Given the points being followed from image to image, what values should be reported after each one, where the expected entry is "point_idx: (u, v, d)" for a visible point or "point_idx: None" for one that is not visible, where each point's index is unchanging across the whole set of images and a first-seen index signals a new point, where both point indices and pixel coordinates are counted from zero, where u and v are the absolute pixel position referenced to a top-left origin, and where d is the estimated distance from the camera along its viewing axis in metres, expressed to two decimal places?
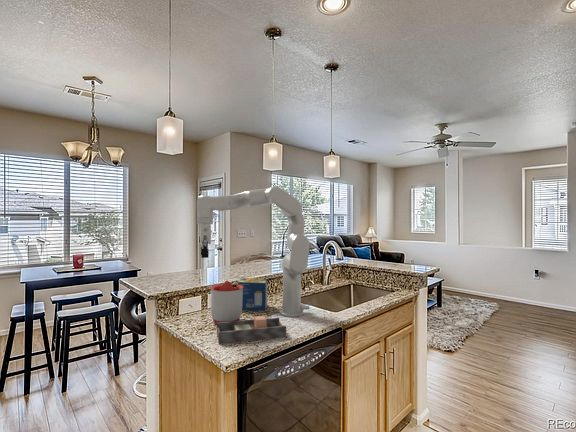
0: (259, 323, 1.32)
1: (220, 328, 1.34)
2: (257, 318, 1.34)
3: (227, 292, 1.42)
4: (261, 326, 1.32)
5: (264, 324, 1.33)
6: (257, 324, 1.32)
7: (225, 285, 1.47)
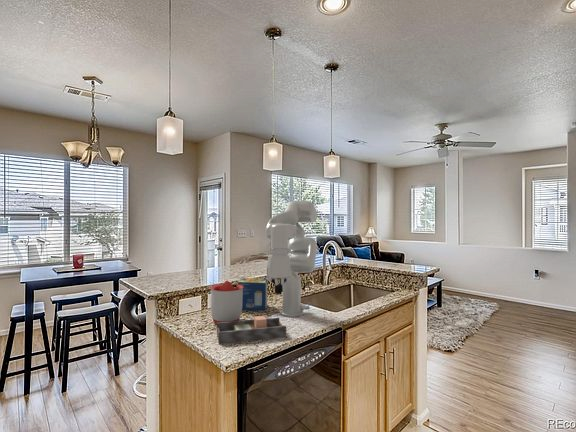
0: (259, 323, 1.32)
1: (220, 328, 1.34)
2: (257, 318, 1.34)
3: (227, 292, 1.42)
4: (261, 326, 1.32)
5: (264, 324, 1.33)
6: (257, 324, 1.32)
7: (225, 285, 1.47)
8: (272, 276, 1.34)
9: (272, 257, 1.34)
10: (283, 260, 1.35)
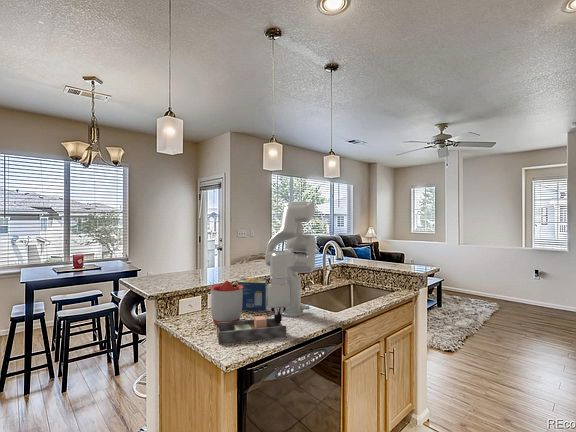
0: (259, 323, 1.32)
1: (220, 328, 1.34)
2: (257, 318, 1.34)
3: (227, 292, 1.42)
4: (261, 326, 1.32)
5: (264, 324, 1.33)
6: (257, 324, 1.32)
7: (225, 285, 1.47)
8: (271, 305, 1.34)
9: (271, 286, 1.34)
10: (282, 289, 1.35)
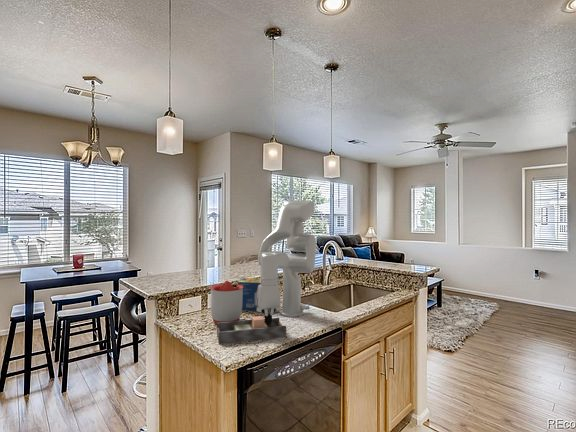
0: (257, 323, 1.32)
1: (220, 328, 1.34)
2: (255, 318, 1.33)
3: (227, 292, 1.42)
4: (259, 326, 1.32)
5: (262, 324, 1.32)
6: (255, 324, 1.32)
7: (225, 285, 1.47)
8: (262, 307, 1.32)
9: (261, 287, 1.33)
10: (273, 290, 1.34)
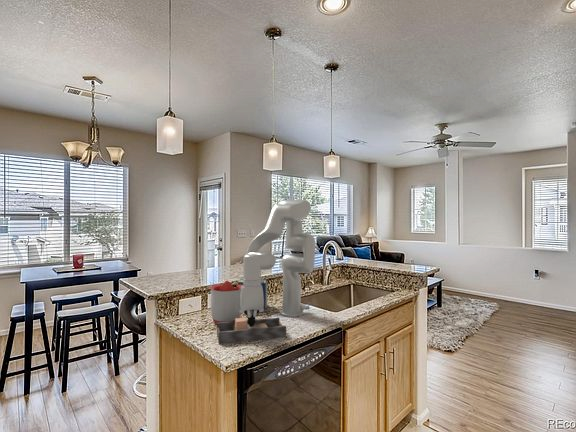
0: (239, 325, 1.30)
1: (220, 328, 1.34)
2: (238, 320, 1.31)
3: (227, 292, 1.42)
4: (242, 328, 1.30)
5: (245, 325, 1.30)
6: (237, 326, 1.29)
7: (225, 285, 1.47)
8: (244, 308, 1.30)
9: (244, 289, 1.30)
10: (256, 291, 1.31)
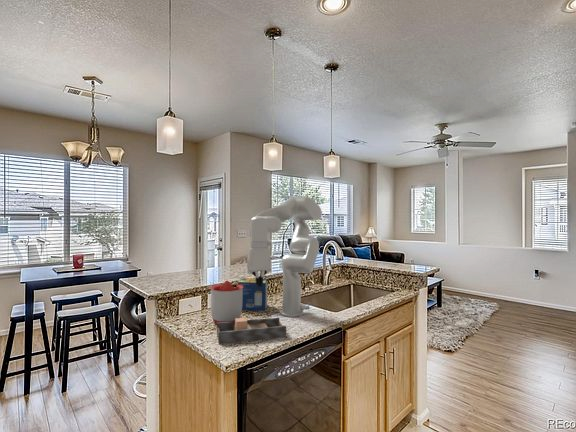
0: (239, 325, 1.30)
1: (220, 328, 1.34)
2: (238, 320, 1.31)
3: (227, 292, 1.42)
4: (242, 328, 1.30)
5: (245, 325, 1.30)
6: (237, 326, 1.29)
7: (225, 285, 1.47)
8: (252, 269, 1.35)
9: (252, 250, 1.35)
10: (263, 253, 1.36)
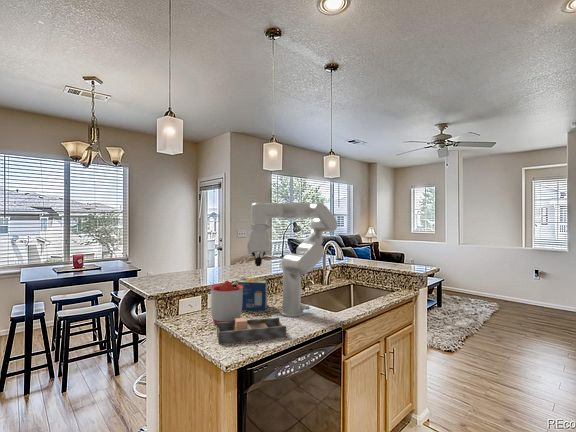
0: (239, 325, 1.30)
1: (220, 328, 1.34)
2: (238, 320, 1.31)
3: (227, 292, 1.42)
4: (242, 328, 1.30)
5: (245, 325, 1.30)
6: (237, 326, 1.29)
7: (225, 285, 1.47)
8: (252, 249, 1.47)
9: (252, 232, 1.48)
10: (262, 235, 1.48)
